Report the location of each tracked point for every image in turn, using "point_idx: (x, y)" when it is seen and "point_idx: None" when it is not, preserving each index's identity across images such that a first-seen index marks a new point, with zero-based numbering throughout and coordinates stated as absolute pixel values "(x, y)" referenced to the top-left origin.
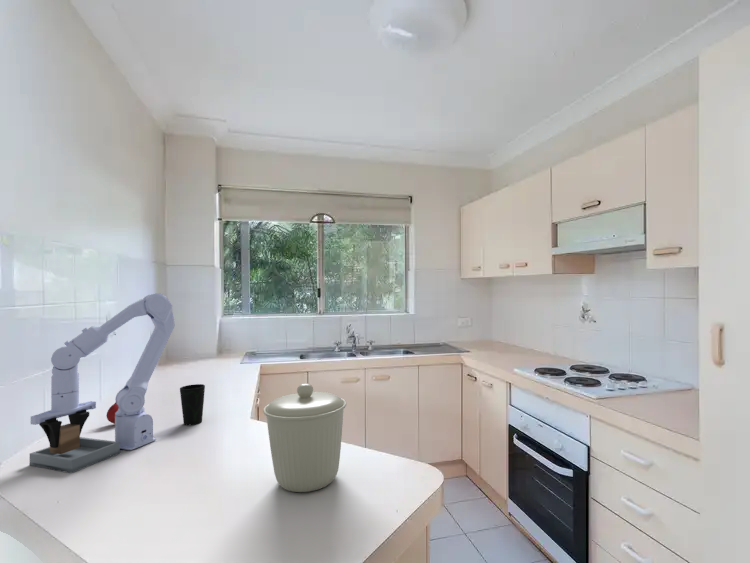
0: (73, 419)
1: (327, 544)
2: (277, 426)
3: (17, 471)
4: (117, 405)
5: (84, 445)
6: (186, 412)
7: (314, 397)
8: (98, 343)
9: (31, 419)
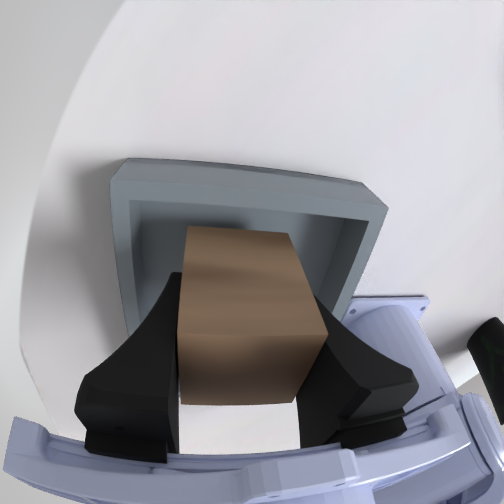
0: (321, 397)
1: None
2: None
3: (74, 178)
4: None
5: (340, 242)
6: (485, 365)
7: None
8: None
9: (12, 454)
